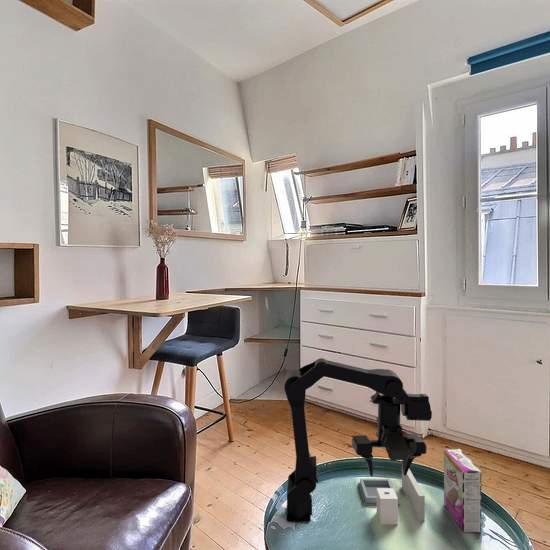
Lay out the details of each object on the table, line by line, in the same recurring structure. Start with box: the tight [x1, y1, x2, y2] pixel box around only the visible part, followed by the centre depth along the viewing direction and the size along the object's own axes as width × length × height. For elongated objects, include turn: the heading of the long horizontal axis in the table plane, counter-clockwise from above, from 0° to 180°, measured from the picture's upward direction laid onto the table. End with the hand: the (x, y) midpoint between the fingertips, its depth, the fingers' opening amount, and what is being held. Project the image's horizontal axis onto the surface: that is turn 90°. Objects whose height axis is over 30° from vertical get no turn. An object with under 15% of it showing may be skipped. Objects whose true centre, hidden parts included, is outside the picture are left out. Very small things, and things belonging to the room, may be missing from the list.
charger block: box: [376, 487, 399, 525], centre depth 99 cm, size 4×4×7 cm
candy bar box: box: [443, 448, 482, 534], centre depth 98 cm, size 11×5×16 cm, turn 0°
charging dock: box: [358, 478, 401, 507], centre depth 109 cm, size 10×10×2 cm
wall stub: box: [401, 467, 426, 522], centre depth 105 cm, size 2×15×7 cm, turn 177°
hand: (387, 475), depth 99 cm, fingers open, 9 cm apart
